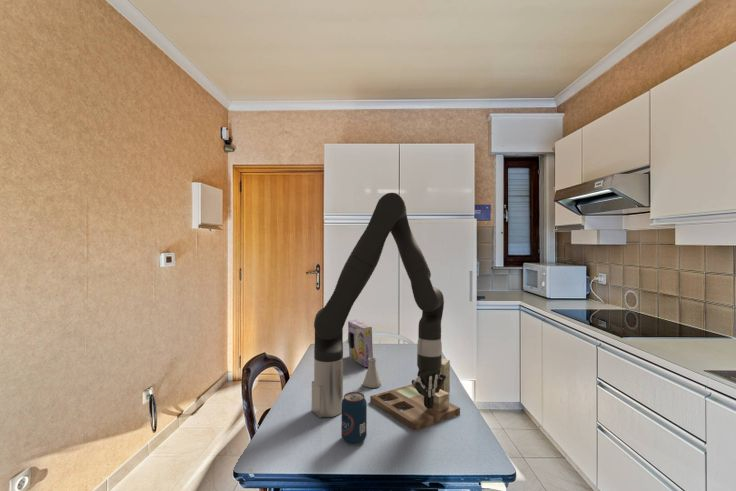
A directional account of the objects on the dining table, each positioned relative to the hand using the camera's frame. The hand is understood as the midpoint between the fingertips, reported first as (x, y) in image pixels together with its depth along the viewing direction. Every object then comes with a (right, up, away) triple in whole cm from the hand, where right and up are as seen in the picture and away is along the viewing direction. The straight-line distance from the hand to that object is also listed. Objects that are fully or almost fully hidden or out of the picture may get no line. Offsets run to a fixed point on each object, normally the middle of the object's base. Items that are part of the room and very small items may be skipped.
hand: (428, 407), depth 111 cm
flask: (-17, -3, +26) cm, 31 cm away
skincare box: (+7, -3, +17) cm, 19 cm away
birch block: (+4, -1, +3) cm, 5 cm away
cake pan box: (-23, -3, +53) cm, 58 cm away
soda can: (-23, -3, -13) cm, 26 cm away
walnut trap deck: (-4, -3, +6) cm, 8 cm away
